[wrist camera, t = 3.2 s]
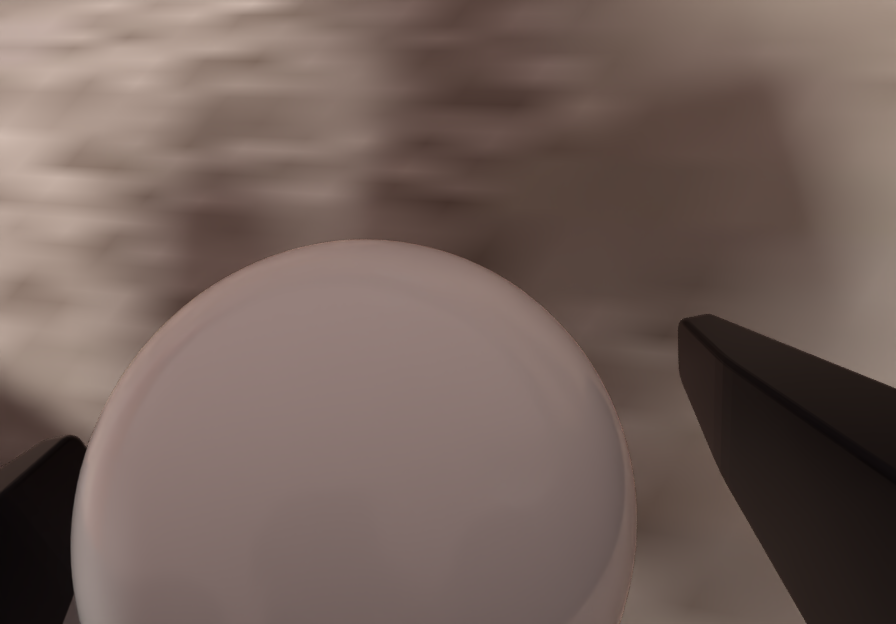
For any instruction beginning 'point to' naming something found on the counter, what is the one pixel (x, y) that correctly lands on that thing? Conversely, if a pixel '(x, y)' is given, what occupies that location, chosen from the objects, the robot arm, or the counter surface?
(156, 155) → the counter surface
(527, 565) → the lightbulb
